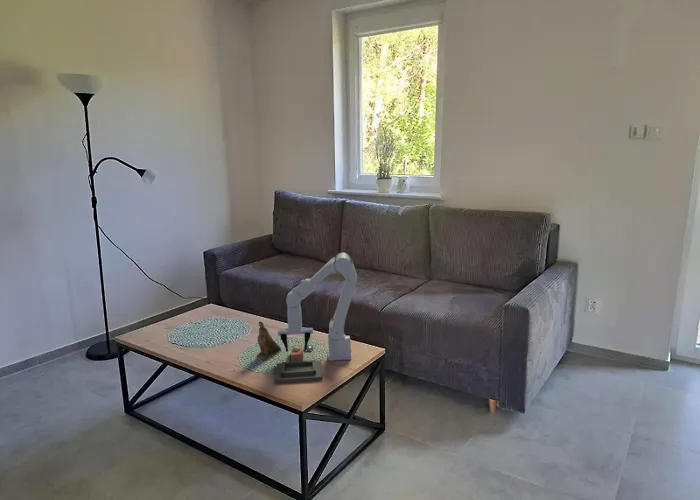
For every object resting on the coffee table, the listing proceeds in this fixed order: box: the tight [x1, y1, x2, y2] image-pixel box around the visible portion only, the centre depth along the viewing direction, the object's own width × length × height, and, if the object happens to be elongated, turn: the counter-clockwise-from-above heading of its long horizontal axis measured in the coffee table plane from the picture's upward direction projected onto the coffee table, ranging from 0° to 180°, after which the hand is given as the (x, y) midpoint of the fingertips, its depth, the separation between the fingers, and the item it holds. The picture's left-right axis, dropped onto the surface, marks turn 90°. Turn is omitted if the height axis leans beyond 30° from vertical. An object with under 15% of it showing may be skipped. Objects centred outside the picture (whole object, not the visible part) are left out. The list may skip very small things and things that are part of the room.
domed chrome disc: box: [303, 344, 314, 352], centre depth 217 cm, size 4×4×2 cm
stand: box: [274, 359, 323, 384], centre depth 196 cm, size 18×14×3 cm
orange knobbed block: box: [289, 344, 304, 362], centre depth 209 cm, size 5×9×5 cm, turn 8°
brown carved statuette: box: [256, 321, 282, 361], centre depth 211 cm, size 12×6×18 cm, turn 144°
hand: (296, 350), depth 209 cm, fingers open, 7 cm apart
